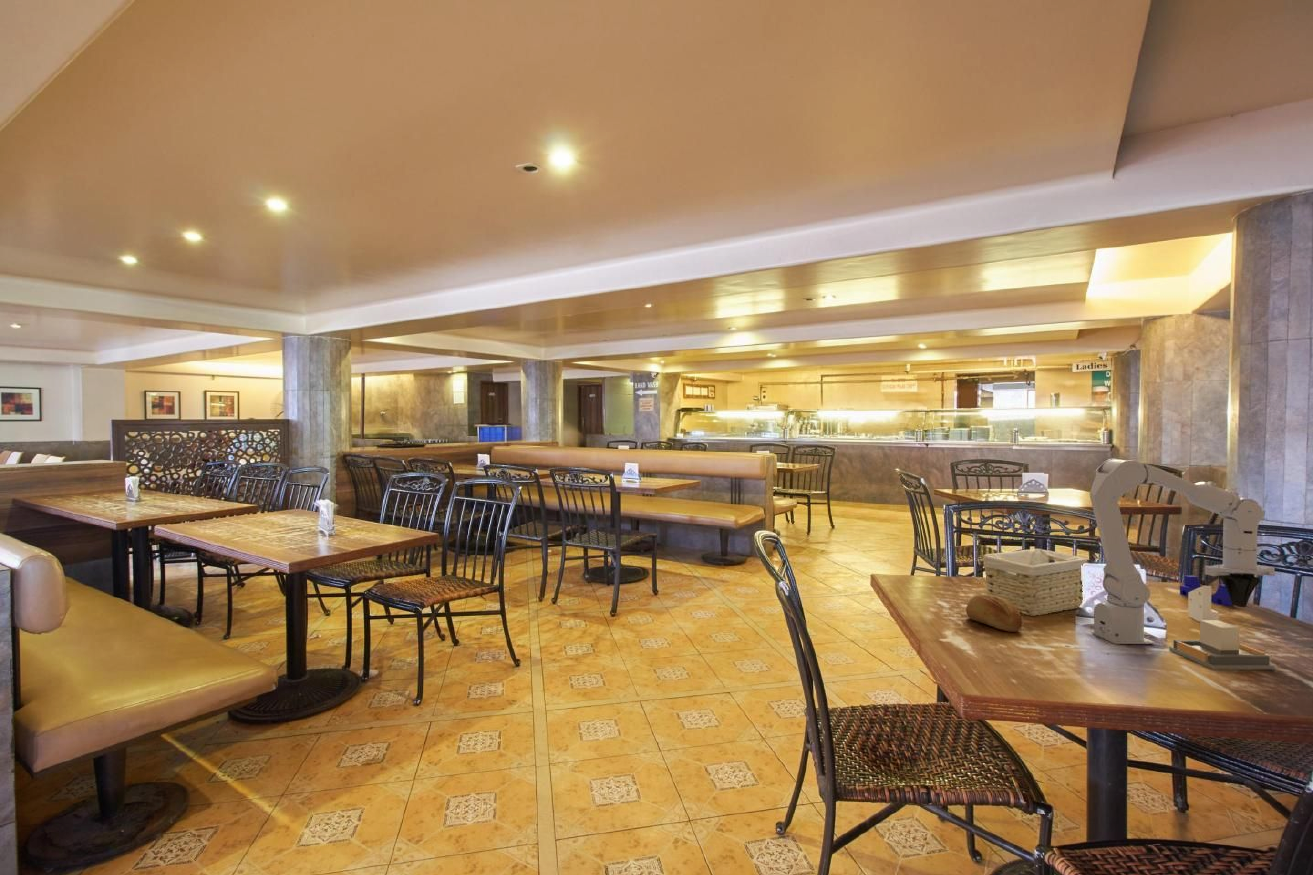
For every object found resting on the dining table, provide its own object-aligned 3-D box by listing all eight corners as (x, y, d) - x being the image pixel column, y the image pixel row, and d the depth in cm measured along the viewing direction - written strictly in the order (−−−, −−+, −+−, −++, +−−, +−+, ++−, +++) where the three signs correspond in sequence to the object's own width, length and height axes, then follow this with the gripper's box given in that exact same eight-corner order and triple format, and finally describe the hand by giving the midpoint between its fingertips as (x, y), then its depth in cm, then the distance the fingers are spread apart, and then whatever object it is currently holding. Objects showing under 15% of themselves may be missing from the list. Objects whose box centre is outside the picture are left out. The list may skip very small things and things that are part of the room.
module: (1220, 654, 131) (1221, 627, 131) (1199, 646, 136) (1200, 620, 136) (1238, 654, 131) (1239, 627, 131) (1217, 646, 136) (1217, 620, 136)
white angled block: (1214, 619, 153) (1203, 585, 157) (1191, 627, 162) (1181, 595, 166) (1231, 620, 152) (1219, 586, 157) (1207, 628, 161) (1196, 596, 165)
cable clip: (1179, 594, 185) (1179, 575, 184) (1193, 594, 185) (1193, 575, 185) (1218, 606, 173) (1219, 585, 173) (1233, 606, 173) (1233, 585, 173)
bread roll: (1004, 637, 148) (1004, 605, 147) (955, 619, 162) (955, 590, 162) (1032, 633, 151) (1032, 601, 151) (982, 615, 165) (982, 586, 165)
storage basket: (1031, 619, 162) (1031, 565, 161) (979, 602, 177) (979, 553, 177) (1090, 609, 170) (1091, 558, 170) (1036, 594, 185) (1037, 547, 185)
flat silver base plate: (1207, 660, 130) (1207, 655, 130) (1183, 650, 136) (1183, 645, 136) (1257, 660, 130) (1257, 655, 130) (1231, 649, 136) (1231, 645, 136)
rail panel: (1213, 669, 128) (1213, 656, 128) (1169, 650, 139) (1169, 638, 139) (1274, 669, 128) (1274, 656, 128) (1225, 649, 139) (1225, 638, 139)
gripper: (1225, 551, 136) (1224, 611, 136) (1288, 551, 136) (1287, 610, 136) (1197, 545, 143) (1196, 602, 143) (1257, 545, 143) (1256, 601, 143)
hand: (1238, 605), depth 140 cm, fingers closed
